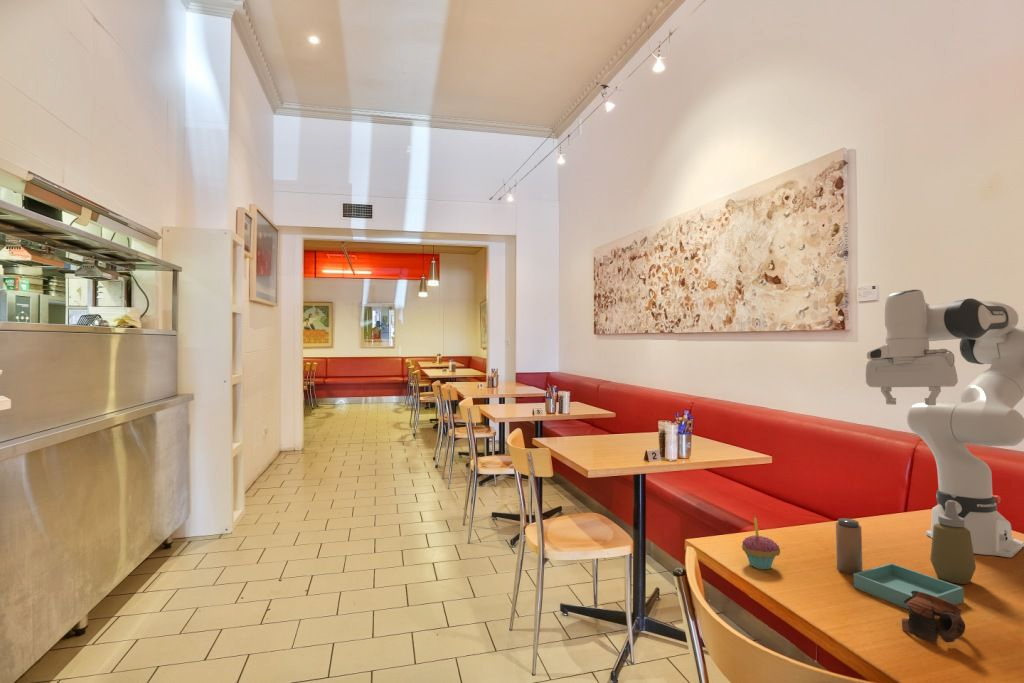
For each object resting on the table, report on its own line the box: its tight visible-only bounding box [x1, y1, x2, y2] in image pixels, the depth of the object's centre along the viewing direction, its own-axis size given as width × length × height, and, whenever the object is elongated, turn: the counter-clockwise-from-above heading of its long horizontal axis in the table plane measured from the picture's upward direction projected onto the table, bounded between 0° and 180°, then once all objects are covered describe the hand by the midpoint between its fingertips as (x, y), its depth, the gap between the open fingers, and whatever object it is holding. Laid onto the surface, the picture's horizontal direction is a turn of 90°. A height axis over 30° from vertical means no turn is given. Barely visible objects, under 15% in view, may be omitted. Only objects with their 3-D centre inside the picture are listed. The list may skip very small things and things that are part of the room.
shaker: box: [835, 517, 864, 576], centre depth 123 cm, size 5×5×12 cm
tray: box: [852, 562, 965, 610], centre depth 110 cm, size 14×14×3 cm
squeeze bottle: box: [930, 501, 977, 585], centre depth 118 cm, size 8×8×18 cm
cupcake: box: [741, 514, 781, 570], centre depth 126 cm, size 9×8×12 cm
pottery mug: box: [901, 591, 966, 645], centre depth 94 cm, size 12×9×8 cm
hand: (910, 405), depth 129 cm, fingers open, 8 cm apart
